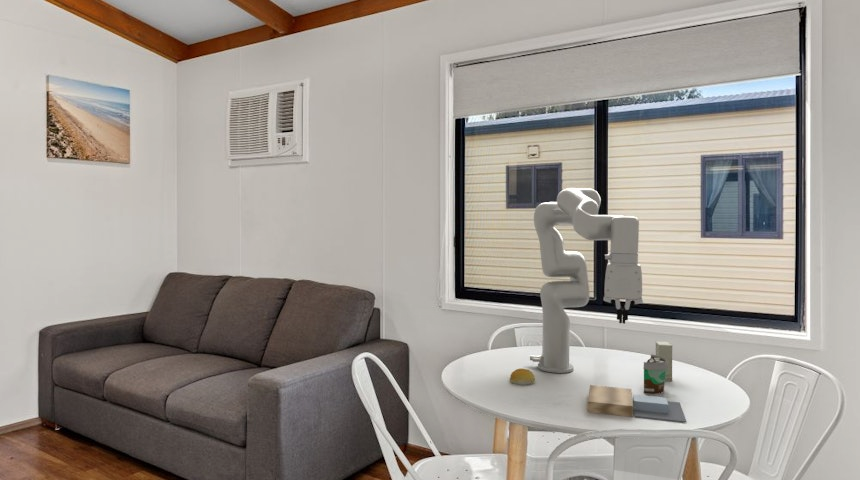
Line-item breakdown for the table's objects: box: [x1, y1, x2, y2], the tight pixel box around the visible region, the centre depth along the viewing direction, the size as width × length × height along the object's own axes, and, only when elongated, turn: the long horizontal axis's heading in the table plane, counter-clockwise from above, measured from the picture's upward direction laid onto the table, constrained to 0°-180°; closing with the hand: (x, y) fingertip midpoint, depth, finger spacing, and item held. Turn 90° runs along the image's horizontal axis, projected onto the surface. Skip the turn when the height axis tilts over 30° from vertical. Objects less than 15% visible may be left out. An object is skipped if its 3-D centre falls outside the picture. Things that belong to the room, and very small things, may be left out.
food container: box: [643, 354, 668, 395], centre depth 176 cm, size 12×6×10 cm, turn 148°
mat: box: [633, 400, 687, 423], centre depth 158 cm, size 13×16×1 cm
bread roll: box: [509, 368, 536, 386], centre depth 185 cm, size 8×9×4 cm
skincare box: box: [655, 340, 673, 382], centre depth 189 cm, size 6×4×12 cm
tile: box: [632, 394, 668, 413], centre depth 159 cm, size 9×6×2 cm, turn 72°
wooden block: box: [586, 384, 634, 418], centre depth 162 cm, size 12×16×3 cm
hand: (622, 322), depth 161 cm, fingers closed
